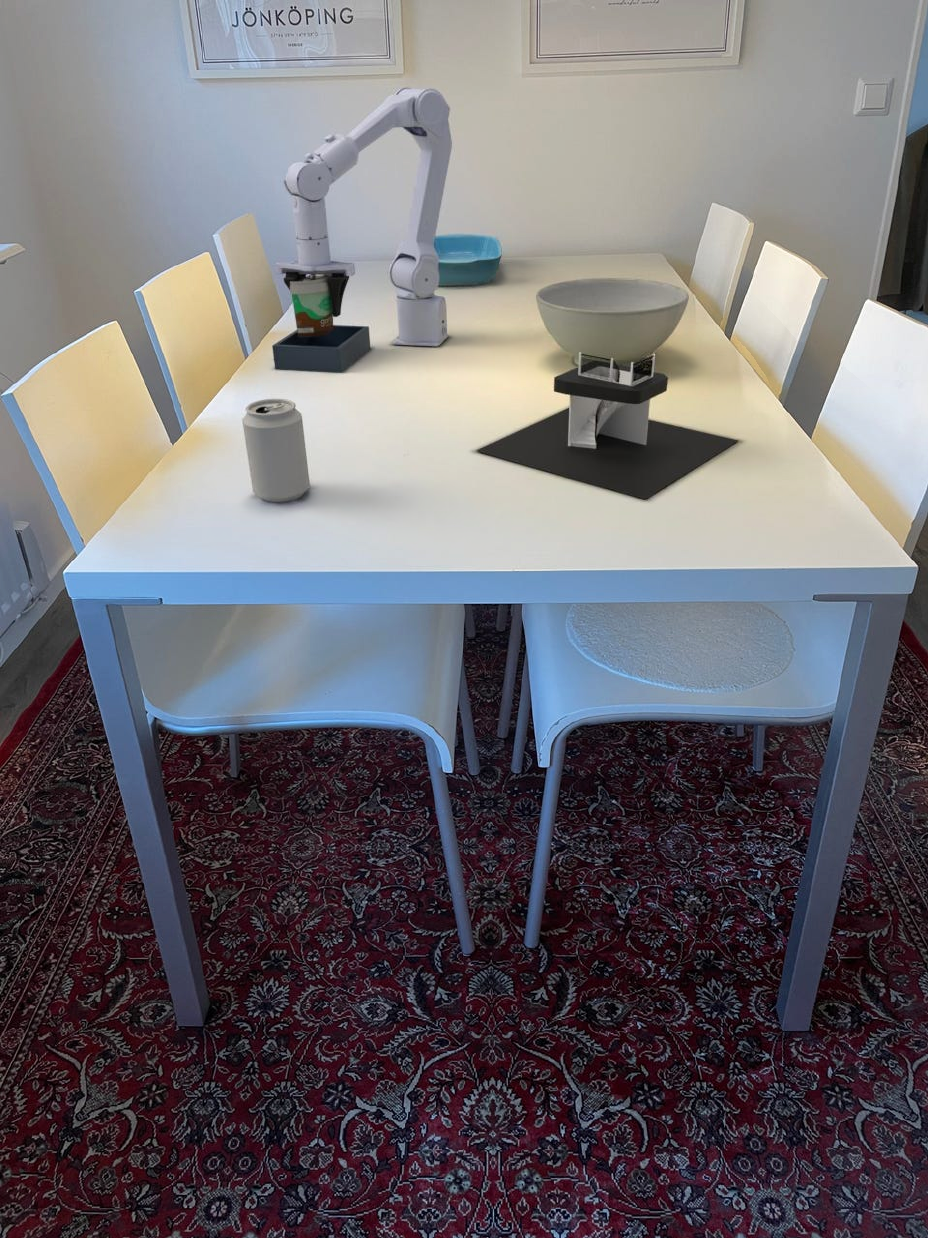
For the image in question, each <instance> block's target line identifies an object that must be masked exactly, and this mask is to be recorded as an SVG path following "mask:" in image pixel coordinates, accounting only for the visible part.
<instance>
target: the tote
mask: <svg viewBox="0 0 928 1238" xmlns="http://www.w3.org/2000/svg"><path fill="white" fill-rule="evenodd" d="M271 348H272V355H273V363H274V364H273V365H274V369H275V370H286V371H288V370H289V371H305V372H306V371H307V372H308V371H309V372H327V373H343V372H344V371H345V370H347V369H348V368H349V367H350V366H352V365H353V364H354V363H355V362H356V361H357V360H359V359H360V358H361V357H362V356H364V355H365V354H366V353H367V352H369V351H370V350H371V348H372V347H371V337H370V327H369V326H368V325H367V326H366V325H365V326H364V325H343V324H333V331H332V332H330V333H328V334H324V335H320V336H313V337H298V332H297V329H295V330H293V331H292V332H291V333H290V334H288V335H286V336H285V337H283V338H282V339H280V340H279V341H277V342H276V343H273V344H272V347H271Z"/></svg>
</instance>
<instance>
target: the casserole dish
mask: <svg viewBox="0 0 928 1238" xmlns="http://www.w3.org/2000/svg"><path fill="white" fill-rule="evenodd" d="M434 248H435V250H436V252H437V255H438V257H439V262H438V271H439V284H438V287H456V286H461V287H463V286H464V287H465V286H481V285H486V284H489V283H490V282H491V281H492V280H493V279H494V278H495V277H496V275H497V272H498V269H499V266H500V262H501V259H502V256H503V248H502V245H501V241H500V239H499V238H498V237H496V236H492V235H482V234H481V235H480V234H472V233H471V234H469V233H468V234H467V233H452V234H450V233H449V234H440V235H435V239H434Z"/></svg>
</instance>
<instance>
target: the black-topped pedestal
mask: <svg viewBox="0 0 928 1238" xmlns="http://www.w3.org/2000/svg"><path fill="white" fill-rule="evenodd" d="M582 355H583V356H584V358H583V360H582V358H581V357H582ZM586 356H589V357H590V359H589V361H588V359H586ZM592 357H595V359H596V360H592ZM598 358H600V359H601V361H598V360H597V359H598ZM585 359H586V360H587V364H586V363H585ZM603 359H605V360H606V361H607V362H603ZM591 360H592V362H591ZM608 360H610V361H611V363H608ZM655 360H656V353H652V355H650V356H648V357H645V358H643V359H642V360H641V361H639V362H637V363H634V362H631V367H627V366H622V365H617V364H616V363H615V361H614V360H613V358H611V359H606V358H601V357H596V356H591V355H586V354H582V352H579V365H578V366H577V367H575V368H573V369H571V370H568V371H566V372H563V373H561V374H559V375H556V376H554V377H553V392H554V393H558V394H563V395H567V396H569V406H568V407H567V408H565V409H563V410H560V411H558V412H556V413H554V414H552V415H549V416H547V417H545V418H544V419H541V420H539V421H537V422H534V423H533V424H530V425H528V426H526V427H524V428H522V429H520V430H518V431H515V432H513V433H511V434H509V435H506V436H505V437H502V438H500V439H497V440H496V441H493V442H490V443H489V444H487V445H484V446H483V447H481V448H478V449H476V450H475V451H476V452H479V453H483V454H486V455H489V456H493V457H496V458H500V459H504V460H507V461H511V462H514V463H518V464H521V465H525V466H529V467H531V468H534V469H538V470H541V471H545V472H549V473H553V474H556V475H560V476H563V477H566V478H569V479H573V480H576V481H581V482H584V483H586V484H591V485H595V486H597V487H600V488H605V489H609V490H611V491H615V492H618V493H622V494H626V495H630V496H633V497H637V498H640V499H644V500H646V499H648V498H650V497H651V496H653V495H654V494H656V493H657V492H659V491H661V490H662V489H664V488H665V487H667V486H669V485H670V484H672V483H674V482H675V481H677V480H678V479H680V478H681V477H683V476H684V475H686V474H688V473H690V472H691V471H692V470H694V469H696V468H697V467H699V466H701V465H702V464H704V463H706V462H707V461H709V460H710V459H711V458H714V456H716V455H718V454H720V453H721V452H723V451H724V450H726V449H727V448H729V447H731V446H732V445H734V444H735V443H737V442H739V439H735V438H731V437H725V436H721V435H717V434H713V433H710V432H709V433H708V432H705V431H700V430H697V429H691V428H687V427H684V426H683V427H682V426H678V425H674V424H670V423H666V422H661V421H655V420H654V419H653V420H652V419H650V405H651V400H652V399H653V398H655V397H657V396H659V395H661V394H663V393H666V392H667V390H668V382H669V377H668V376H667V375H666V374H664V373H661V372H657V371H655ZM613 362H614V363H615V364H613ZM583 363H584V364H583ZM639 363H640V364H639ZM581 364H582V366H581ZM635 364H636V367H635V368H634V366H635ZM638 364H639V366H638Z"/></svg>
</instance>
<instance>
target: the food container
mask: <svg viewBox="0 0 928 1238" xmlns="http://www.w3.org/2000/svg"><path fill="white" fill-rule="evenodd" d="M329 277H332V275H321V274H309V275H308V276H306V277H303V278H301V279H300V281H298V282H290V290H289V294H290V295H291V299H292V307H293V312H294V319H295V326H296V330H297V332H298V337H313V336H320V335H324V334H328V333H330V332H332V331H333V325H334V317H333V312H332V300H331V294H330V289H329V285H328V282H327V279H328V278H329Z"/></svg>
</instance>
